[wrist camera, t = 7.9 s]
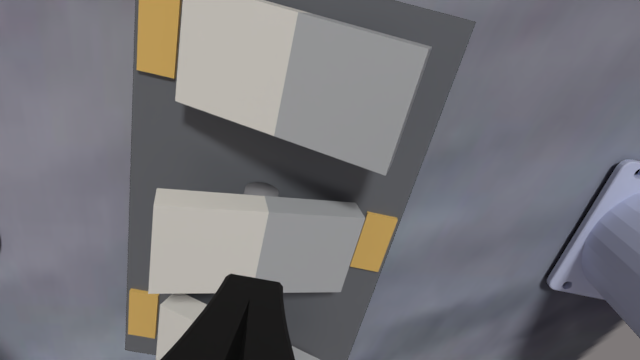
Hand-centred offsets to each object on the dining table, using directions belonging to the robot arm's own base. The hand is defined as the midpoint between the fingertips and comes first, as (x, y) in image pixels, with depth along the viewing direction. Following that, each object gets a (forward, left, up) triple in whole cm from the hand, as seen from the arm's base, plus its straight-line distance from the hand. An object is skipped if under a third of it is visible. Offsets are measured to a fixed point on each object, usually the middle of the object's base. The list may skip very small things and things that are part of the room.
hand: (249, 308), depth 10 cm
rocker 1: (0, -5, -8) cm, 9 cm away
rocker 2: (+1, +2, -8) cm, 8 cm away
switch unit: (0, +2, -10) cm, 11 cm away
